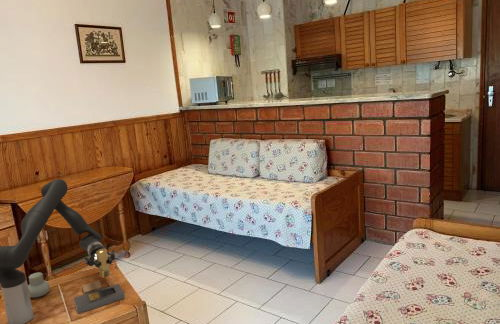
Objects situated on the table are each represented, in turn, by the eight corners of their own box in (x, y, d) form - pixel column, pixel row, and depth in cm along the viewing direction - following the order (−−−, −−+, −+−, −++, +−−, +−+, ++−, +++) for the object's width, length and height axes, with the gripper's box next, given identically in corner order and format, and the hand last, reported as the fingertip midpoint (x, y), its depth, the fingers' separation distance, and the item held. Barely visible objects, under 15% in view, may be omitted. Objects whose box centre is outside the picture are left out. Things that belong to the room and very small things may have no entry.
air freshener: (52, 294, 188) (48, 275, 186) (33, 301, 183) (29, 282, 181) (44, 287, 196) (41, 268, 194) (26, 294, 190) (22, 275, 188)
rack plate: (78, 313, 170) (76, 307, 169) (74, 303, 178) (73, 297, 177) (124, 298, 180) (124, 291, 179) (119, 289, 188) (118, 283, 187)
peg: (101, 278, 176) (97, 253, 173) (99, 274, 180) (95, 250, 177) (111, 275, 178) (107, 250, 176) (109, 272, 182) (105, 247, 179)
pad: (84, 296, 184) (84, 292, 184) (82, 289, 191) (81, 285, 190) (102, 290, 188) (102, 286, 188) (99, 284, 195) (98, 280, 194)
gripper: (79, 248, 185) (86, 260, 171) (111, 240, 192) (119, 251, 178) (82, 263, 187) (88, 276, 172) (113, 254, 194) (122, 266, 179)
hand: (104, 263), depth 175 cm, fingers closed on peg, 4 cm apart
